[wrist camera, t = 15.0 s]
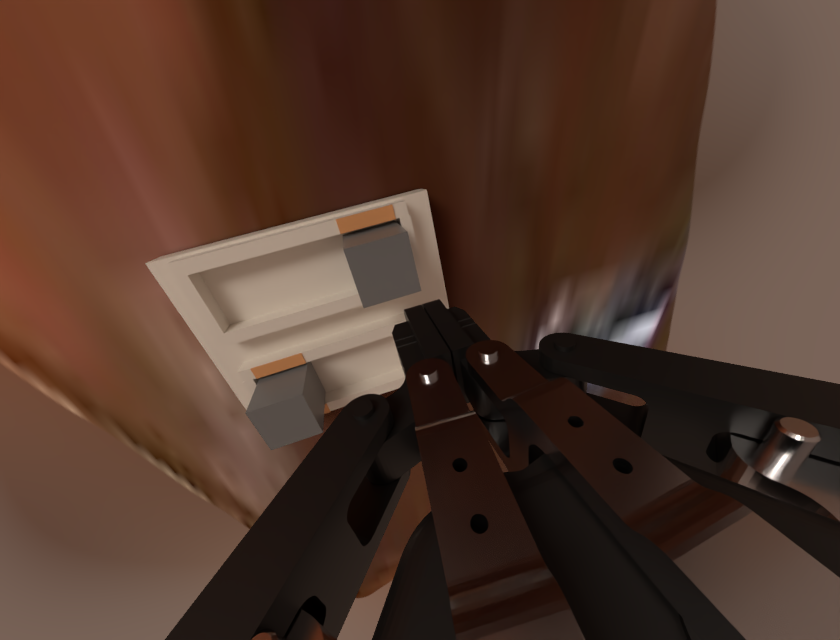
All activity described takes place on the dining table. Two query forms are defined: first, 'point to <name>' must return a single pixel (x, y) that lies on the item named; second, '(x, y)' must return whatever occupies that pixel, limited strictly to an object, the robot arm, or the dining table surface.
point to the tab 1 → (288, 406)
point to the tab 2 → (381, 263)
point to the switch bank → (301, 300)
